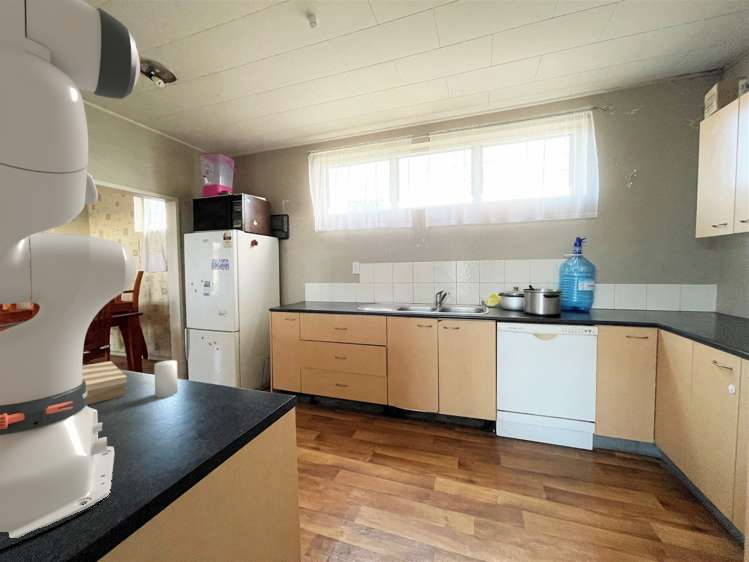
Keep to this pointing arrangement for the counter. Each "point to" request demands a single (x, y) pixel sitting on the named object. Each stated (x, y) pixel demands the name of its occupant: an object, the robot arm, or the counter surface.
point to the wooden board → (103, 382)
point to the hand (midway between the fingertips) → (42, 219)
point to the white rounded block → (166, 378)
